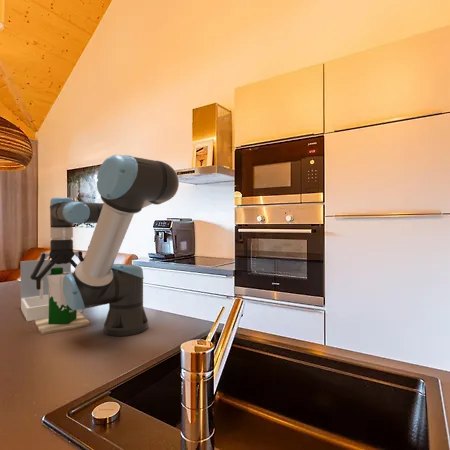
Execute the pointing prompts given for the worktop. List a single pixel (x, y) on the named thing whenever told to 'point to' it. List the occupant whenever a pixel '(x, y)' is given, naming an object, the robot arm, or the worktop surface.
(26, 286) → the equipment case
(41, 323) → the wooden mat
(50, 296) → the soya milk
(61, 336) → the worktop surface
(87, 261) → the robot arm
